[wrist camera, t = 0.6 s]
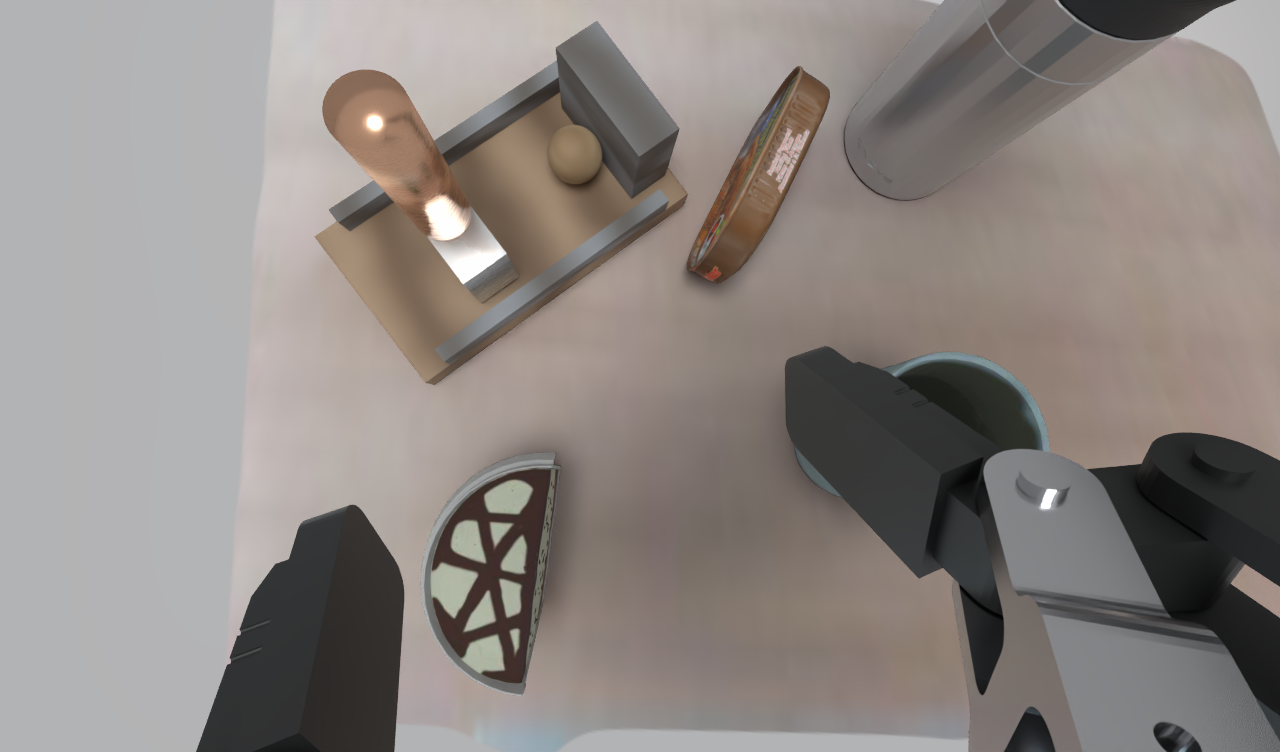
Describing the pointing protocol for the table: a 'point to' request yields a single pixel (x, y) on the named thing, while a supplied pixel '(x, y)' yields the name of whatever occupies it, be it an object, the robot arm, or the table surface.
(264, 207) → the table surface
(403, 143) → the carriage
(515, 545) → the food container
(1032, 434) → the teal cup
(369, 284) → the railed wooden base
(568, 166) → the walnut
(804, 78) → the tin
